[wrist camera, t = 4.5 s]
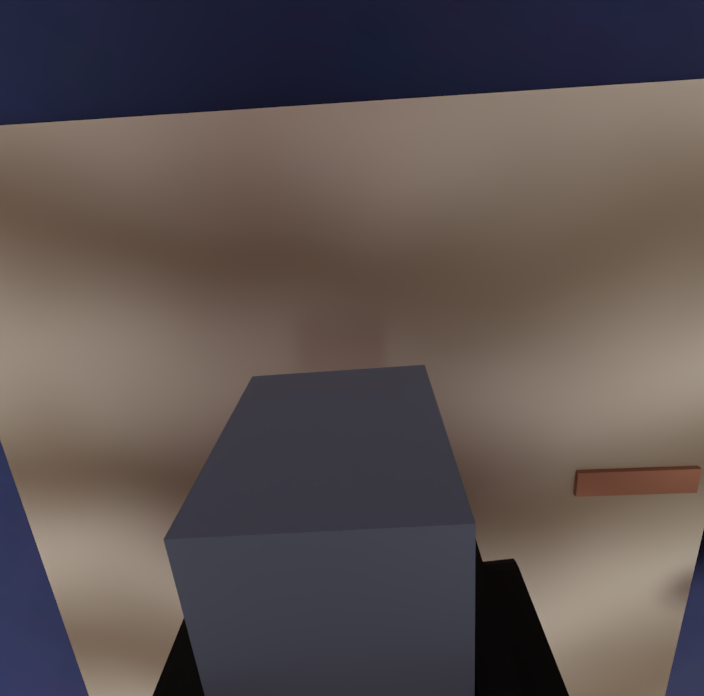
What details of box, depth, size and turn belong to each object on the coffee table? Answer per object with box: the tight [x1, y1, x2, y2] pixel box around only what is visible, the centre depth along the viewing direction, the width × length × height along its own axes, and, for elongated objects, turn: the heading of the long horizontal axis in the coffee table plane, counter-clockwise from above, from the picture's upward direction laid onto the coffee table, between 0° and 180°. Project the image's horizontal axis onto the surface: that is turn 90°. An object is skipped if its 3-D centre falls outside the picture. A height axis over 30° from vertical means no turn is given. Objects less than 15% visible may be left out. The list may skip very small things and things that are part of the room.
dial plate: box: [0, 79, 704, 696], centre depth 13 cm, size 18×18×2 cm
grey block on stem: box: [163, 365, 476, 696], centre depth 9 cm, size 9×3×7 cm, turn 5°
